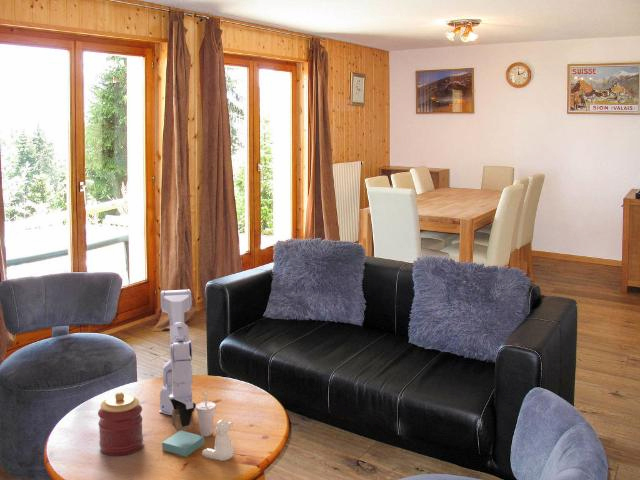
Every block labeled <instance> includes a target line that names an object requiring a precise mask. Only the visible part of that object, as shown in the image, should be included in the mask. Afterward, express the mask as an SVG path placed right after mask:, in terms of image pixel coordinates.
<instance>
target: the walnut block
mask: <svg viewBox="0 0 640 480" xmlns="http://www.w3.org/2000/svg"><path fill="white" fill-rule="evenodd" d="M171 416H172V419H171V420H172V426H173V428H174V429H175V431H176V432H179V431H186V430H191V429H193V427H194V425H193V424H194V423H193V422H194V421H193V420H194V419H193V414H192V416H191V420H190V424H189V425H188V426H184V427H183V426H182V424H181V419H180V414H179V411H178V409H174V410H172V415H171Z"/></svg>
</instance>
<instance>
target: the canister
mask: <svg viewBox="0 0 640 480" xmlns="http://www.w3.org/2000/svg"><path fill="white" fill-rule="evenodd" d="M142 411H143V407H142V405H140V401H139V398H137V397H135V396H133V395H131V394H127V393H126V394H125V393H123V392H122V391H118V392H117V393H115V395H114V394H113V395H112V396H109V397H107V398H106V399H105V400H103V401H102V402H101V403H100V408H99V409H98V411H97V415H98V417H99V420H98V430H99V441H98V442H99V443H98V446H99V448H100V451H101V452H102V453H103V454H105V455H108V456H115V457H117V456H126V455H130V454H132V453H135V452H137V451H138V450H140V449H141V448H142V446H143V442H144V435H143V417H142V415H141V413H142Z"/></svg>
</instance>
